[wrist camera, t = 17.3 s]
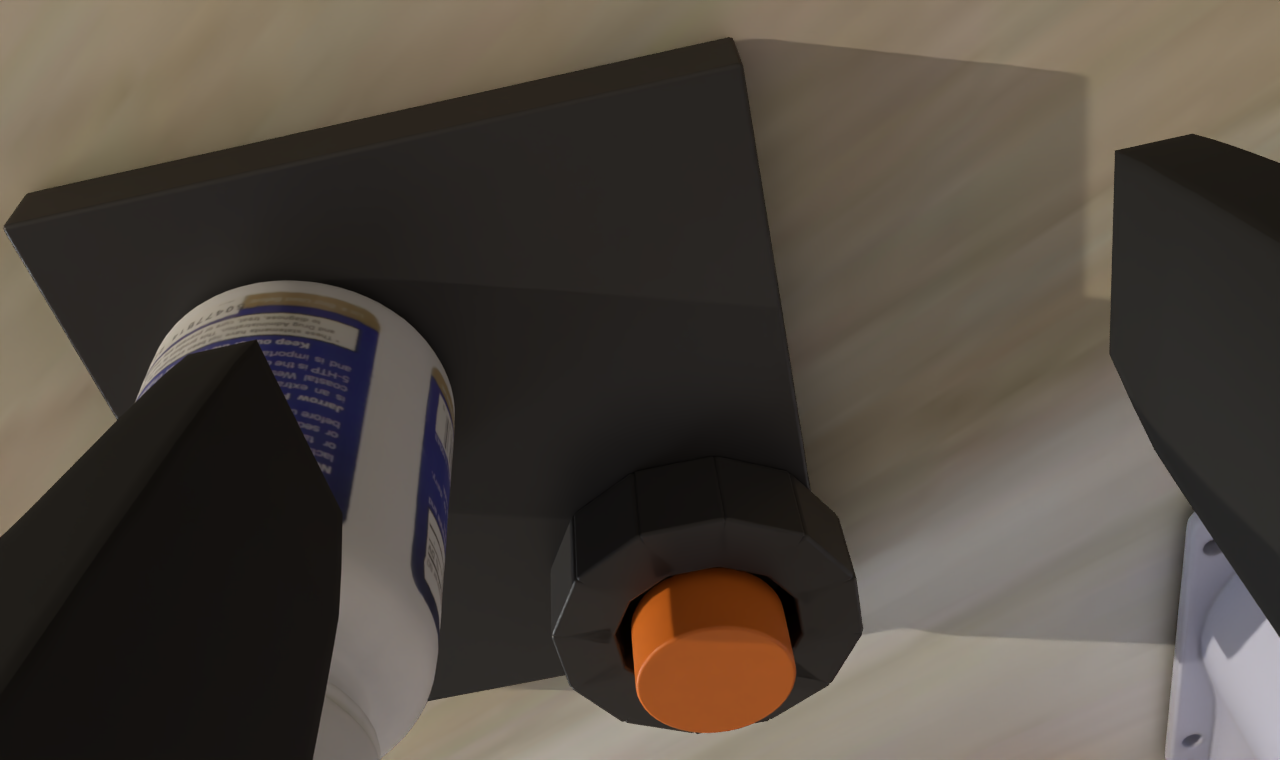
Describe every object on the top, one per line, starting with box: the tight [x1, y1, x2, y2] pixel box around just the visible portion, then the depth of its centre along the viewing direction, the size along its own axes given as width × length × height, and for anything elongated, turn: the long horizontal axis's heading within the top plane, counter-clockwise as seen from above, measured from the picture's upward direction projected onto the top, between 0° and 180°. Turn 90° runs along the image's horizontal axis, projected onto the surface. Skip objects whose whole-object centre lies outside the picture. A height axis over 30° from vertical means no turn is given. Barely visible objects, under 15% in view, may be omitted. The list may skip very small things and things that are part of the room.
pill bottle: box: [135, 280, 455, 760], centre depth 18 cm, size 5×5×9 cm
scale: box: [4, 37, 863, 734], centre depth 23 cm, size 14×12×3 cm
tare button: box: [631, 567, 796, 733], centre depth 23 cm, size 3×3×2 cm
